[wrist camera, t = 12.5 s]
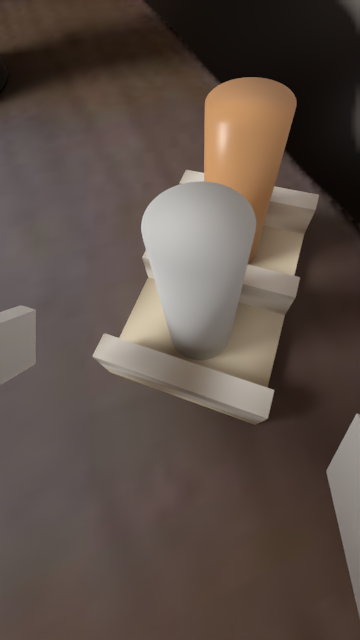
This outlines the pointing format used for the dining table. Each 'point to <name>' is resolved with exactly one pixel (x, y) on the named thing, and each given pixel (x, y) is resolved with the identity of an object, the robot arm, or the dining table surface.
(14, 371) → the robot arm
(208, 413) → the dining table surface
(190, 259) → the grey plug
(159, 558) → the dining table surface
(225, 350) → the rack
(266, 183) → the orange plug
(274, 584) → the dining table surface
